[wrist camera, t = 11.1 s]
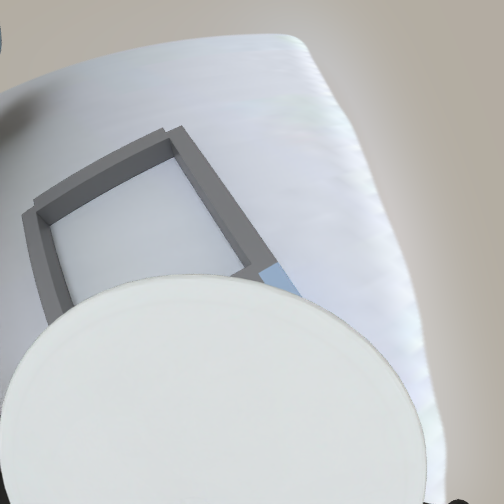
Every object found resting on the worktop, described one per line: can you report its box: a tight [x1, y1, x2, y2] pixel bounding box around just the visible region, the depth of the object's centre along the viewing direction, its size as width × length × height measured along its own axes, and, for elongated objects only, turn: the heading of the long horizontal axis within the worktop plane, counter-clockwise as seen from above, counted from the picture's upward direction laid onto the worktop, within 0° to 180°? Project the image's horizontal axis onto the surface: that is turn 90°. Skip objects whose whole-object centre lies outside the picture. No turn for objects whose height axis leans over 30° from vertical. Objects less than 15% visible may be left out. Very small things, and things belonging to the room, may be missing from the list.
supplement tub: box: [0, 274, 427, 504], centre depth 11 cm, size 10×10×15 cm
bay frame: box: [22, 126, 302, 326], centre depth 20 cm, size 30×16×2 cm, turn 32°
